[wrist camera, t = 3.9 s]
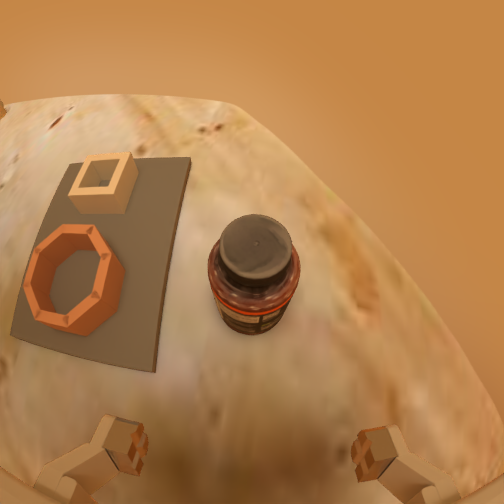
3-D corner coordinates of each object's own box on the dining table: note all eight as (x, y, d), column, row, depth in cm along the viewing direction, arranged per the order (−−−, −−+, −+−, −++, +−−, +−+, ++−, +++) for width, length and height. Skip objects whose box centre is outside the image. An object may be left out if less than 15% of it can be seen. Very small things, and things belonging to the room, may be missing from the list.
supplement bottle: (244, 262, 27) (245, 182, 17) (296, 297, 26) (330, 233, 16) (204, 310, 25) (178, 252, 15) (258, 349, 23) (271, 318, 13)
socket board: (155, 372, 22) (137, 368, 18) (15, 337, 22) (-11, 326, 18) (191, 163, 33) (186, 135, 29) (72, 168, 33) (60, 146, 29)
